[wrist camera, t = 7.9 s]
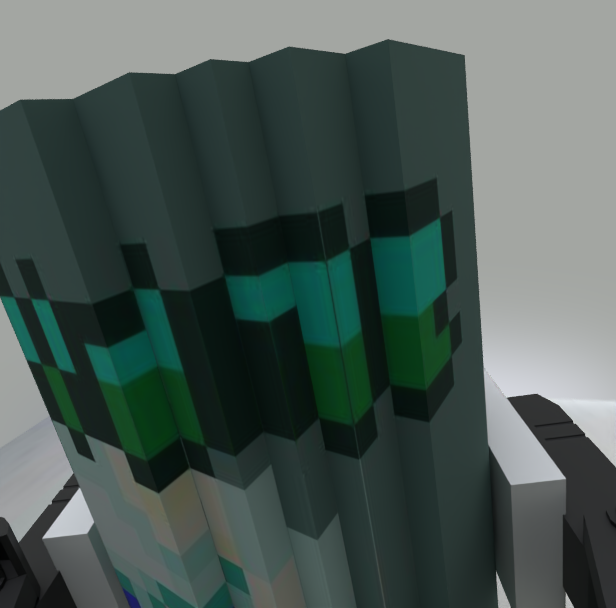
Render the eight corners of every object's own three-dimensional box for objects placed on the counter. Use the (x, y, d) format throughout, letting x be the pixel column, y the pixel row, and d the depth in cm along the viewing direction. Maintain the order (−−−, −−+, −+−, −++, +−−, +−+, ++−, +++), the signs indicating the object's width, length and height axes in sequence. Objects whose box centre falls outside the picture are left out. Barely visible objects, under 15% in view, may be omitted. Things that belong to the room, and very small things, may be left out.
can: (191, 830, 10) (-111, 172, 6) (329, 606, 15) (224, 137, 10) (449, 1131, 7) (201, -2, 2) (528, 714, 11) (506, 63, 7)
